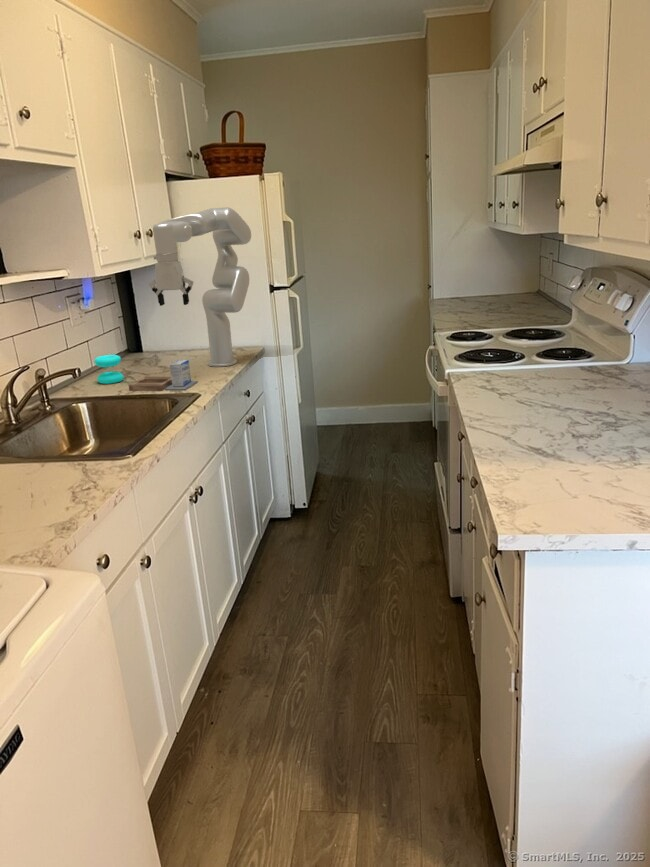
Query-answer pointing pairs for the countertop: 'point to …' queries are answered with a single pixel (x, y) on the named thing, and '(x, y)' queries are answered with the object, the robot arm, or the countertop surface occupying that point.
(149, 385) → the board
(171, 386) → the slate mat
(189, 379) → the medicine box
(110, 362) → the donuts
